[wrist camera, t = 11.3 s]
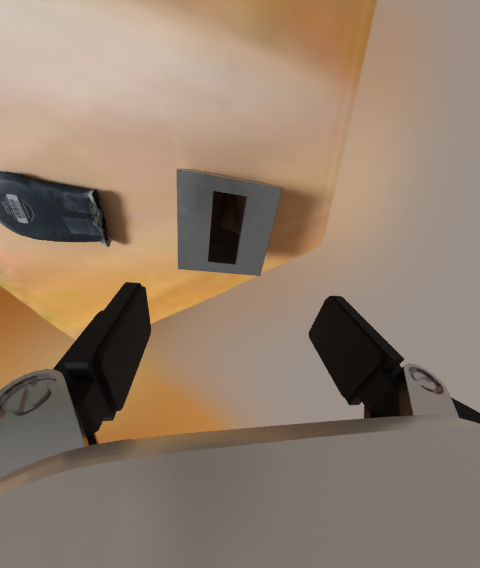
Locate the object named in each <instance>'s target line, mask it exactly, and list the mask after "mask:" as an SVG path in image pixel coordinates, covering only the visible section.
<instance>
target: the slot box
mask: <svg viewBox="0 0 480 568" xmlns="http://www.w3.org/2000/svg"><path fill="white" fill-rule="evenodd" d="M213 191H218V192H223V193H229V194H235V195H241V196H246V198H245V205H244V211H243V217H242V223H241V229H240V235H239V241H238V245H235V244H226V243H218V242H209V240H210V227H211V215H212V202H213ZM281 191H282V188H279V187H276V186H272V185H268V184H265V183H260V182H255V181H250V180H244V179H239V178H234V177H228V176H223V175H218V174H212V173H207V172H201V171H196V170H191V169H177V223H178V269H186V270H198V271H209V272H221V273H233V274H244V275H256V276H260V275H261V271H262V267H263V263H264V259H265V255H266V251H267V247H268V243H269V239H270V235H271V231H272V227H273V223H274V219H275V215H276V211H277V207H278V203H279V199H280V195H281Z"/></svg>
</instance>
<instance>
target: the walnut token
mask: <svg viewBox="0 0 480 568" xmlns="http://www.w3.org/2000/svg"><path fill="white" fill-rule="evenodd" d="M245 198H246V196H241V195H235V194H229V193H226V199H225V204H224V209H223V214H222V220H221V226H223V227H225V228H227V229H229V230H231V231H233V232H235V233H237V234H239V235H240V229H241V223H242V217H243V211H244V205H245Z"/></svg>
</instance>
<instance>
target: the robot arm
mask: <svg viewBox="0 0 480 568" xmlns="http://www.w3.org/2000/svg"><path fill="white" fill-rule="evenodd" d="M150 333H151V325H150V317H149V309H148V302H147V294H146V288H145V287H142V286H141V284H140V283H129V282H126V283H125V284H124V285H123V286H122V287H121V289H120V290H119V291H118V293H117V294H116V295H115V297H114V298H113V299H112V300H111V302H110V303H109V304H108V306H107V307H106V308H105V310H104V311H100V312H99V313H98V314H97V315H96V316H95V317H94V318H93V320H92V321H91V322H90V323H89V325H88V326H87V327H86V329H85V330H84V331H83V332H82V334H81V335H80V336H79V337H78V339H77V340H76V341H75V342H74V344H73V345H72V346H71V347H70V349H69V350H68V351H67V352H66V354H65V355H64V356H63V357H62V359H61V360H60V361H59V362H58V364H57V365H56V366H55V367H54V369H53V370H52V369H45V370H38V371H34V372H31V373H29V374H26V375H23V376H22V377H19V378H17V379H16V380H14V381H12V382H10V383H9V384H8V385H6V386H5V387H3V388H2V389H1V390H0V568H480V413H479V412H477V411H475V410H473V409H471V408H470V407H468V406H466V405H464V404H462V403H460V402H459V401H457V400H455V399H453V398H451V397H450V394H449V392H448V390H447V388H446V387H445V385H444V384H443V383H442V382H441V381H440V380H439V379H438V378H437V377H436V376H435V375H433V374H432V373H431V372H429V371H428V370H426V369H424V368H422V367H420V366H418V365H415V364H406V365H405V366H404V367H403V368H402V367H401V366H400V365H399V364H400V363H401V362H402V361H403V360H404V358H403V357H402V356H401V355H400V354H399V353H398V352H397V351H396V350H395V349H394V348H393V347H392V346H391V345H390V344H388V342H387V341H386V340H385V339H384V338H383V337H382V336H381V335H380V334H379V333H378V332H377V331H376V330H375V329H374V328H373V327H372V326H371V325H370V324H369V323H368V322H367V321H366V320H365V319H364V318H363V317H362V316H361V315H360V314H359V313H358V312H357V311H356V310H355V309H354V308H353V307H352V306H351V305H350V304H349V303H348V302H347V301H346V300H345V299H344V298H343V297H341V296H329V297H328V298H327V299H326V300H325V301H324V304H323V306H322V307H321V309H320V311H319V313H318V315H317V317H316V319H315V321H314V323H313V325H312V328H311V330H310V331H309V338H310V340H311V341H312V343H313V345H314V347H315V349H316V351H317V352H318V354H319V356H320V358H321V359H322V361H323V363H324V365H325V367H326V368H327V370H328V372H329V374H330V375H331V377H332V379H333V381H334V383H335V384H336V386H337V388H338V390H339V391H340V393H341V395H342V396H343V397H344V398H345V399H346V400H347V402H348V404H349V405H359V404H360V403H361V402H363V404H364V405H365V406H364V419H355V420H340V421H328V422H315V423H303V424H291V425H279V426H266V427H255V428H243V429H231V430H220V431H208V432H198V433H186V434H175V435H166V436H157V437H147V438H138V439H128V440H120V441H115V442H108V443H101V444H99V442H98V439H97V436H96V433H95V432H97V431H98V430H99V428H100V426H101V423H102V421H110V420H111V421H112V420H113V419H114V417H115V414H116V411H120V410H121V409H122V408H123V405H124V403H125V401H126V398H127V395H128V393H129V390H130V387H131V385H132V382H133V379H134V377H135V374H136V371H137V369H138V366H139V364H140V361H141V358H142V356H143V353H144V350H145V348H146V345H147V342H148V340H149V337H150Z"/></svg>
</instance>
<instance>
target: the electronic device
mask: <svg viewBox="0 0 480 568" xmlns="http://www.w3.org/2000/svg"><path fill="white" fill-rule="evenodd" d="M98 196H100V195H99V193H98V192H97V189H90V190H89V189H83V188H78V187H72V186H67V185H65V184H57V183H52V182H46V181H41V180H36V179H31V178H27V177H25V176H22V175H19V174H16V173H12V172H1V171H0V223H1V224H2V225H4V226H5V227H7V228H8V229H10V230H11V231H13V232H15V233H17V234H19V235H22V236H26V237H30V238H33V239H38V240H47V241H57V242H98V241H101V243H105V247H109V246H110V243H111V241H112V239H110V237H108V236H107V234H106V232H107V227H106V219H105V218H104V217H105V214H104V212H103V211H102V210H101V206H100V202H99V200H100V199H99V198H98ZM102 228H103V229H104V230H105V232H104V231H103V230H102Z"/></svg>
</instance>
